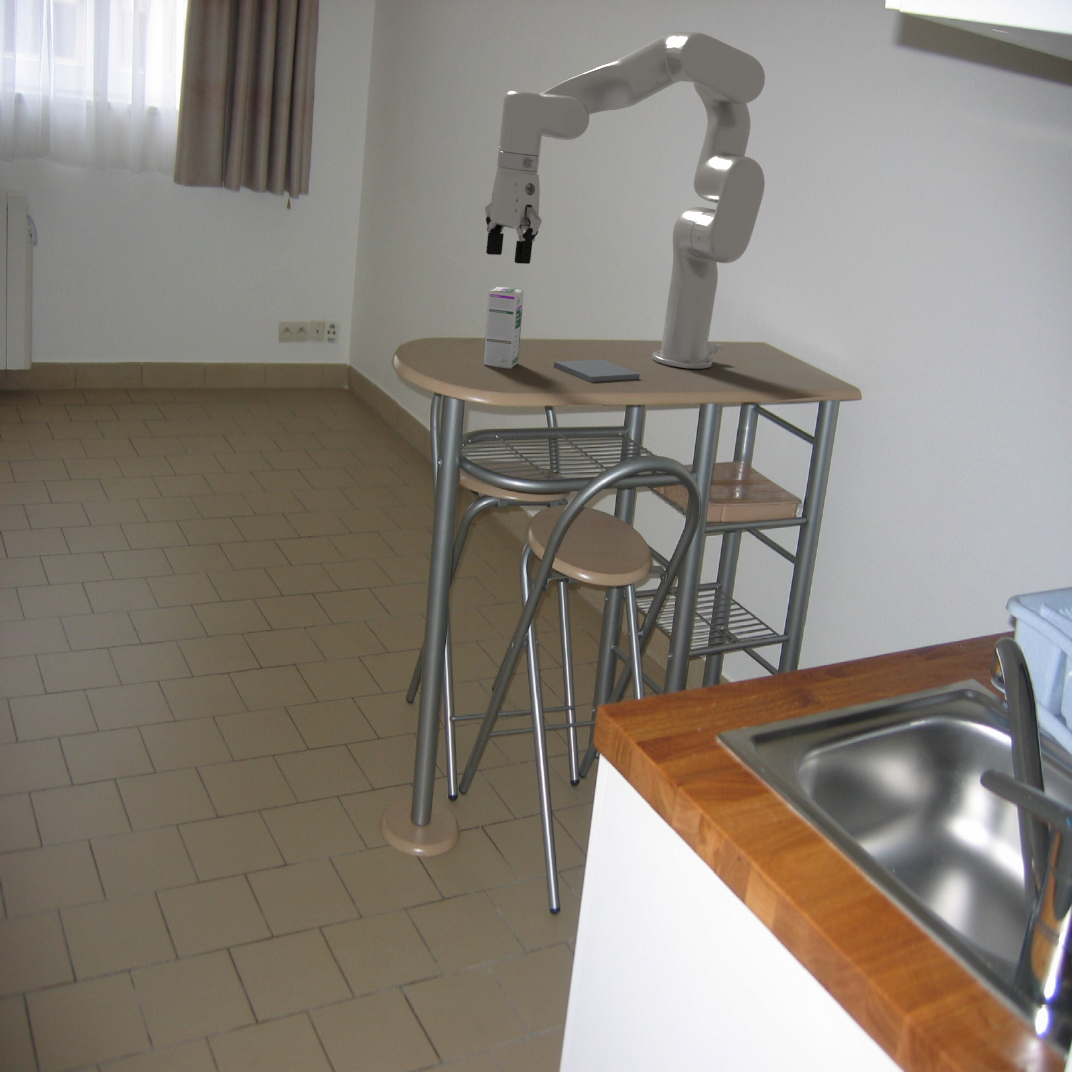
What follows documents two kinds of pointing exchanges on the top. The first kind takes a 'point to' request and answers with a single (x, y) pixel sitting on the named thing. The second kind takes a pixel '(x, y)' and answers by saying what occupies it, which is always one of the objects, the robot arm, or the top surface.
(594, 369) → the grey square plate
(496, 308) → the syrup box
